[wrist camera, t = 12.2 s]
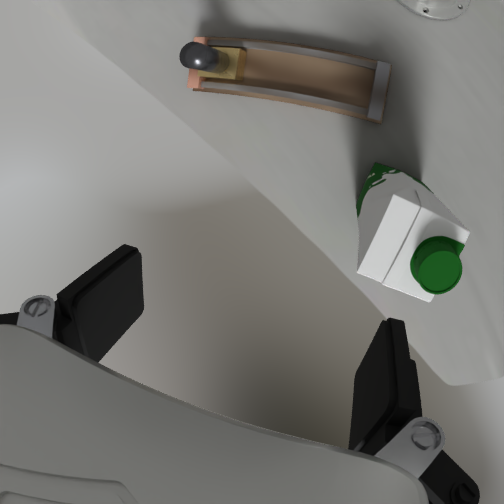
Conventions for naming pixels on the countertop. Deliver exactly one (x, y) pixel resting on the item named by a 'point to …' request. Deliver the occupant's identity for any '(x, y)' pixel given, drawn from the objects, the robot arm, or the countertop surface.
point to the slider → (214, 61)
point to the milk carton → (407, 235)
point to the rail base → (303, 77)
